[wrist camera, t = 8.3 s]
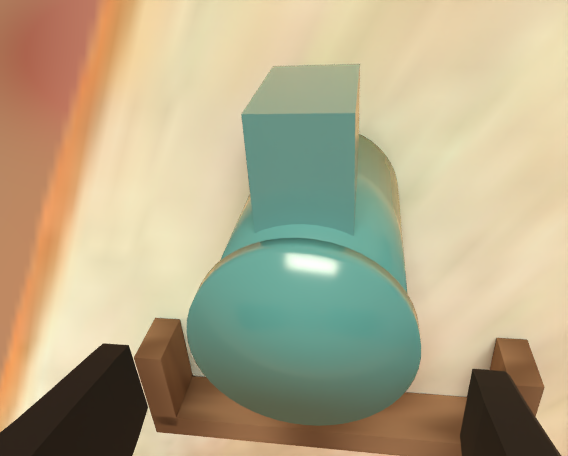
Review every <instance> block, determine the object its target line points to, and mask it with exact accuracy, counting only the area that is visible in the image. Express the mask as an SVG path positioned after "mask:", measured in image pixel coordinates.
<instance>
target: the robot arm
mask: <svg viewBox="0 0 568 456" xmlns="http://www.w3.org/2000/svg"><path fill="white" fill-rule="evenodd" d="M147 409H148V406H147V402H146V399H145V396H144V393H143V390H142V386H141V383H140V380H139V377H138V373H137V370H136V367H135V364H134V361H133V357H132V354H131V351H130V348H129V345H117V344H102V345H101V346H100V347H98V348H97V349H96V350H95V351H94V352H93V353H91V354H90V355H89V356H88V357H87V358H86V359H85V360H83V361H82V362H81V363H80V364H79V365H78V366H77V367H76V368H75V369H73V370H72V371H71V372H70V373H69V374H68V375H67V376H66V377H64V378H63V379H62V380H61V381H60V382H59V383H58V384H57V385H55V386H54V387H53V388H52V389H51V390H50V391H49V392H47V393H46V394H45V395H44V396H43V397H42V398H41V399H39V400H38V401H37V402H36V403H35V404H34V405H33V406H31V407H30V408H29V409H28V410H27V411H26V412H24V413H23V414H22V415H21V416H20V417H19V418H18V419H16V420H15V421H14V422H13V423H12V424H10V425H9V426H8V427H7V428H5V429H4V430H3V431H2V432H0V456H132V455H133V452H134V450H135V447H136V444H137V441H138V438H139V435H140V432H141V429H142V425H143V422H144V419H145V415H146V412H147ZM460 442H461V452H462V456H561V455H560V453H559V452H558V450H557V449H556V447H555V446H554V444H553V443H552V442H551V440H550V439H549V437H548V436H547V434H546V432H545V431H544V429H543V428H542V426H541V425H540V423H539V422H538V420H537V419H536V417H535V416H534V414H533V412H532V411H531V409H530V408H529V406H528V404H527V403H526V401H525V400H524V398H523V396H522V395H521V393H520V391H519V390H518V388H517V386H516V385H515V383H514V381H513V380H512V378H511V376H510V375H509V374H508V373H507V372H506V371H495V370H481V369H472V374H471V380H470V385H469V390H468V395H467V400H466V406H465V411H464V416H463V421H462V427H461V432H460Z"/></svg>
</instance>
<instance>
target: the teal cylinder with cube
mask: <svg viewBox="0 0 568 456" xmlns="http://www.w3.org/2000/svg"><path fill="white" fill-rule="evenodd" d="M359 89H360V64H341V65H303V66H273V67H272V69H271V70H270V72H269V73H268V75H267V76H266V78H265V79H264V81H263V82H262V84H261V85H260V87H259V88H258V90H257V91H256V93H255V94H254V96H253V98H252V99H251V101H250V102H249V104H248V105H247V107H246V108H245V110H244V111H243V113H242V114H241V115H242V124H243V133H244V142H245V151H246V160H247V169H248V178H249V187H250V195H249V197H248V199H247V201H246V204H245V206H244V208H243V211H242V213H241V215H240V217H239V220H238V222H237V224H236V226H235V229H234V231H233V233H232V235H231V238H230V240H229V242H228V244H227V247H226V249H225V251H224V253H223V256H222V258H221V260H220V262H218V263H217V264H216V265H215V266H214V267H213V268H212V269H211V270H210V271H209V272H208V274H207V275H206V277H205V278H204V280H203V281H202V283H201V285H200V287H199V289H198V291H197V293H196V296H195V298H194V300H193V302H192V305H191V307H190V309H189V314H188V318H187V337H188V343H189V347H190V350H191V353H192V355H193V357H194V359H195V361H196V363H197V365H198V366H199V368H200V369H201V371H202V373H203V374H204V375H205V376H206V377H207V379H208V380H209V381H210V382H211V383H212V384H213V385H214V386H215V387H216V388H217V389H218V390H219V391H221V392H222V393H223V394H225V395H226V396H227V397H228V398H230V399H231V400H233V401H235V402H236V403H238V404H239V405H241V406H243V407H245V408H247V409H249V410H251V411H253V412H256V413H258V414H260V415H263V416H266V417H269V418H272V419H275V420H279V421H284V422H288V423H294V424H301V425H316V426H322V425H337V424H344V423H349V422H353V421H358V420H361V419H364V418H367V417H370V416H372V415H374V414H376V413H378V412H380V411H382V410H384V409H385V408H387V407H389V406H390V405H392V404H393V403H394V402H395V401H397V400H398V399H399V398H400V397H401V396H402V395H403V394H404V393H405V392H406V390H407V389H408V388H409V386H410V385H411V383H412V382H413V380H414V378H415V376H416V373H417V371H418V369H419V364H420V359H421V341H420V332H419V325H418V319H417V314H416V311H415V309H414V306H413V303H412V302H411V300H410V298H409V296H408V294H407V285H406V274H405V262H404V251H403V240H402V228H401V217H400V206H399V195H398V184H397V178H396V175H395V172H394V169H393V167H392V165H391V163H390V161H389V160H388V158H387V157H386V155H385V154H384V153H383V152H382V150H381V149H380V148H379V147H378V146H376V145H375V144H374V143H373V142H372V141H370V140H369V139H367V138H366V137H364V136H362V135H360V134H359Z"/></svg>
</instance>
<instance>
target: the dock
mask: <svg viewBox="0 0 568 456" xmlns="http://www.w3.org/2000/svg"><path fill="white" fill-rule="evenodd" d="M134 360H135V363H136V366H137V369H138V373H139V376H140V379H141V382H142V386H143V389H144V392H145V395H146V398H147V402H148V405H149V408H150V411H151V415H152V418H153V421H154V424H155V428H156V431H157V432H162V433H173V434H183V435H193V436H203V437H214V438H224V439H234V440H245V441H255V442H265V443H276V444H286V445H296V446H306V447H317V448H327V449H337V450H348V451H358V452H368V453H379V454H389V455H399V456H462V452H461V442H460V432H461V427H462V421H463V416H464V411H465V406H466V400H467V397H457V396H444V395H431V394H418V393H404V394H403V395H402V396H401V397H400V398H399V399H398V400H397V401H395V402H394V403H393V404H392V405H390V406H389V407H387V408H385V409H384V410H382V411H380V412H378V413H376V414H374V415H372V416H370V417H367V418H364V419H361V420H358V421H353V422H349V423H344V424H337V425H322V426H316V425H301V424H294V423H288V422H284V421H279V420H275V419H272V418H269V417H266V416H263V415H260V414H258V413H256V412H253V411H251V410H249V409H247V408H245V407H243V406H241V405H239V404H238V403H236V402H235V401H233V400H231V399H230V398H228V397H227V396H226V395H225V394H223V393H222V392H221V391H219V390H218V389H217V388H216V387H215V386H214V385H213V384H212V383H211V382H210V381H209V380H208V379H207V377H198V376H192V371H191V367H190V363H189V358H188V354H187V349H186V345H185V341H184V336H183V332H182V328H181V323H180V319H163V318H155V320H154V321H153V323H152V325H151V327H150V329H149V331H148V332H147V334H146V336H145V338H144V340H143V342H142V344H141V345H140V347H139V349H138V351H137V353H136V355H135V357H134ZM490 370H495V371H506V372H507V373H508V374H509V375H510V376H511V378H512V380H513V381H514V383H515V385H516V386H517V388H518V390H519V391H520V393H521V395H522V396H523V398H524V400H525V401H526V403H527V404H528V406H529V408H530V409H531V411H532V412H533V414H534V416H536V413H537V410H538V406H539V403H540V400H541V397H542V394H543V390H544V385H543V382H542V379H541V377H540V374H539V371H538V368H537V365H536V363H535V360H534V357H533V354H532V352H531V349H530V346H529V343H528V340H523V339H506V338H497V340H496V344H495V349H494V353H493V358H492V362H491V367H490Z"/></svg>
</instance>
